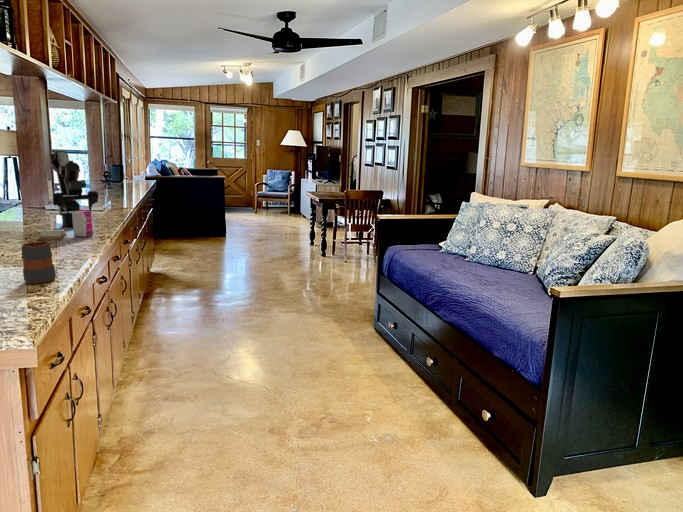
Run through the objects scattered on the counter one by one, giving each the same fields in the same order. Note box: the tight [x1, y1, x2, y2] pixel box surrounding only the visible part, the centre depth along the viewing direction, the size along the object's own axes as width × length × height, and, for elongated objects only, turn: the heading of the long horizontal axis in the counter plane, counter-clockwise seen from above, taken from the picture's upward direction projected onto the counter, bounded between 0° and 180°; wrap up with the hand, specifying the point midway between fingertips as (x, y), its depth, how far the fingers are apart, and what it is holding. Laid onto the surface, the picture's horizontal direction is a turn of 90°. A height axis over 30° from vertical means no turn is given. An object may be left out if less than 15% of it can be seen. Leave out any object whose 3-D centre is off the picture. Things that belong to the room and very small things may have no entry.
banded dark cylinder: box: [20, 241, 57, 285], centre depth 162 cm, size 9×12×12 cm
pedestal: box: [38, 229, 68, 241], centre depth 231 cm, size 9×9×3 cm
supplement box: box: [71, 209, 94, 238], centre depth 235 cm, size 6×6×12 cm
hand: (79, 211), depth 237 cm, fingers open, 9 cm apart
